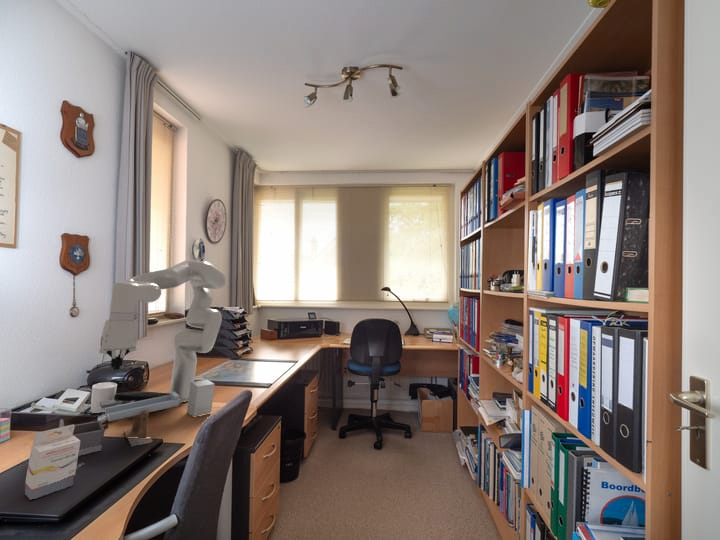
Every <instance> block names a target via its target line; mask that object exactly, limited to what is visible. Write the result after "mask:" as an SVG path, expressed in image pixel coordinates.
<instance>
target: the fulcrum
mask: <svg viewBox="0 0 720 540" xmlns="http://www.w3.org/2000/svg"><path fill="white" fill-rule="evenodd" d="M149 415H150V412H149V410H146V411H142V412H141V414H140V415H135V416H134V417H133V419H132V426H131V429H127V430H123V434H124V437H125V438H126V437H138V438H146V437H151V435H150V434H149V432H148V431H147V429H148V423H149Z"/></svg>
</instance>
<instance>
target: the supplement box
mask: <svg viewBox="0 0 720 540" xmlns="http://www.w3.org/2000/svg"><path fill="white" fill-rule="evenodd" d="M215 384H216V383H214V382H212V381H210V380H208V379H202V380H196V381H195V380H194V382H191V384H190V392H189V400H188V402H187V408H186V413H187V412H188V413H187V414H189V416H191V415H192V416H193V417H194V416H199V415H202V414H207V413H210V412H211V413H212V409H213V402H214V401H213V399H214V393H215ZM192 416H191V417H192ZM193 417H192V418H193Z"/></svg>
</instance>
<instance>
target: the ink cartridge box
mask: <svg viewBox="0 0 720 540" xmlns="http://www.w3.org/2000/svg"><path fill="white" fill-rule="evenodd" d="M75 425H76V424H70V425H64V427H60V428H59V427H57V428H55V427H54V428H52V429H47V430H43V431H39V432H36V433H35V434H34V437H33V443H32V445H31V447H30V453H29V459H28V465H27V471H26V475H25V476H26V477H25V482H24V486H25V485H26V487H28V488H29V489H30V490H35V489H37V488H40V487H43V486H46V485H49V484H51V483H54V482H57V481H60V480H62V479H64V478H67V477H69V476H72V475H75V476H76V470H77V465H78V460H79V459H78V458H79V456H78V454H79V448H80V440H79V439H78V438H76V437H75V436H73V432H74V427H75ZM58 432H62V433H61V434H58ZM54 433H57V434H54ZM52 434H53V435H52ZM49 435H50V436H49Z"/></svg>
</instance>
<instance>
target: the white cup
mask: <svg viewBox="0 0 720 540" xmlns="http://www.w3.org/2000/svg"><path fill="white" fill-rule="evenodd" d="M117 387H118V384H117V383H116V382H111V381H110V382H109V381H107V382H105V381H104V382H99V383H95V384H93V385H92V387H91V398H90V413H91V412H92V413H91V414H93V413H100V412H105V411H104V409H103V408H102V409H101V407H100V402H102V401H107V400H112V399H114V397H115V394H117Z"/></svg>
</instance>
